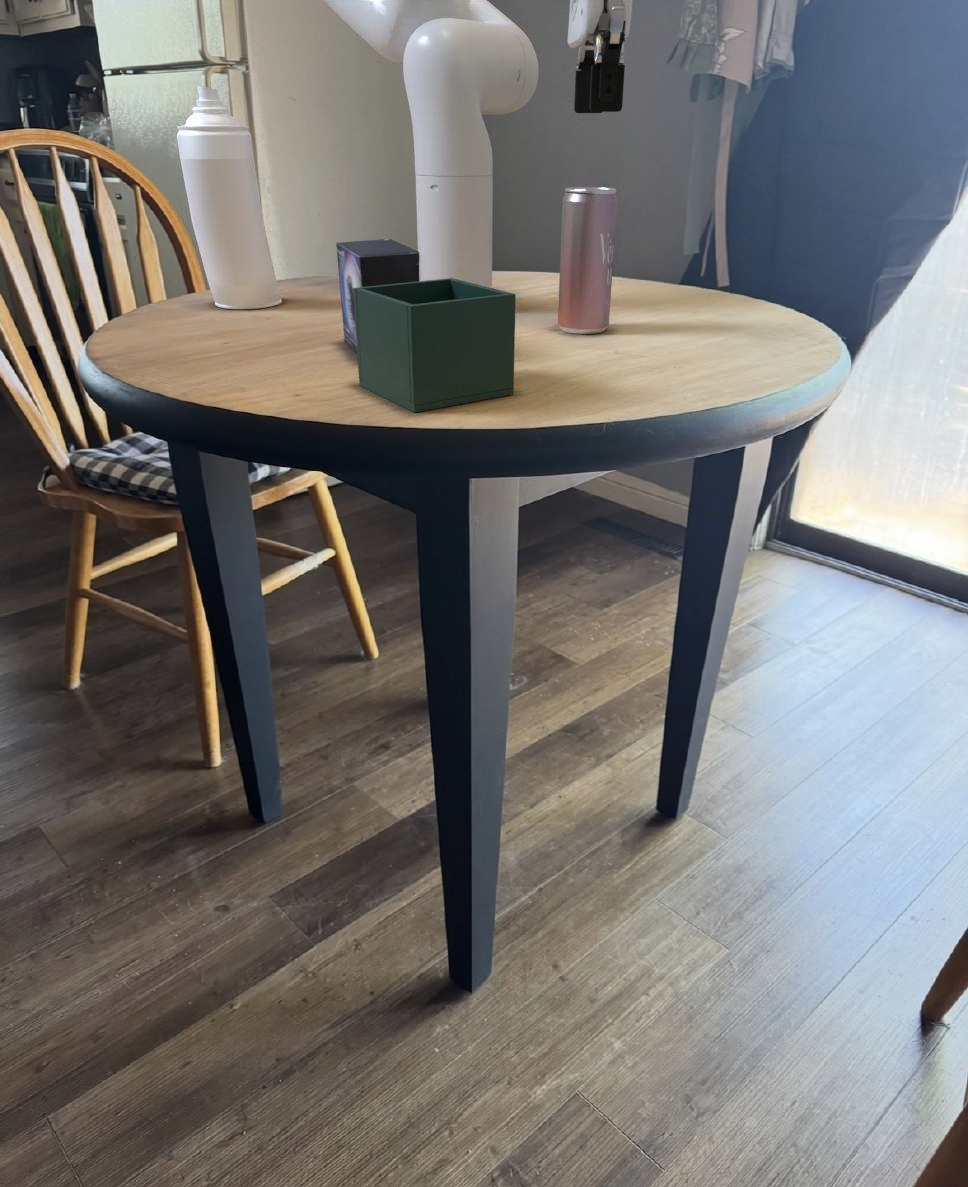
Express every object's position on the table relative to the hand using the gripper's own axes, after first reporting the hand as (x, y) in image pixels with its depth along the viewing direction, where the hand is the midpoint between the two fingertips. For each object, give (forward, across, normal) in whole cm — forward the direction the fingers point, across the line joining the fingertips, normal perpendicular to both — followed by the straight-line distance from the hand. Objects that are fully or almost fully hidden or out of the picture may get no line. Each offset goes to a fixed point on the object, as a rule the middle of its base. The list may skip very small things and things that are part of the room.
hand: (596, 112), depth 92 cm
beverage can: (+22, 0, 0) cm, 23 cm away
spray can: (+22, -18, -42) cm, 51 cm away
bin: (+22, +25, -18) cm, 38 cm away
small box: (+22, +10, -23) cm, 34 cm away
